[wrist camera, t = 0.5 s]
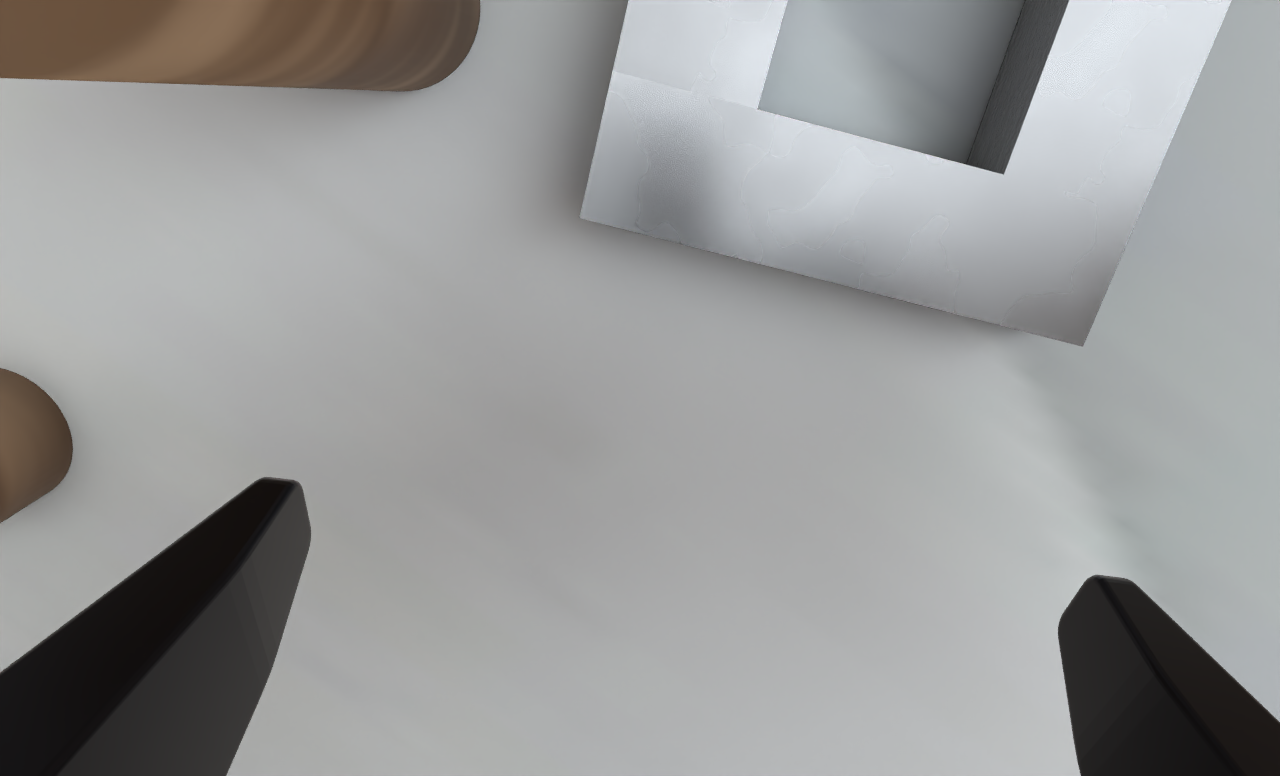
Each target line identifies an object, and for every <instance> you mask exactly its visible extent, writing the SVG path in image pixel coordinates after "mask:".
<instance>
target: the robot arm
mask: <svg viewBox="0 0 1280 776" xmlns="http://www.w3.org/2000/svg"><path fill="white" fill-rule="evenodd" d="M310 541H311V527H310V522H309V517H308V512H307V507H306V502H305V498H304V493H303V489H302V486H301V485H300V483H299V482H297V481H295V480H289V479H281V478H272V477H264V478H261V479H259V480H257V481H255V482H254V483H252V484H251V485H250V486H248V487H247V488H246V489H244V490H243V491H242V492H240V493H239V494H238V495H236V496H235V497H234V498H232V499H231V500H230V501H228V502H227V503H226V504H224V505H223V506H222V507H220V508H219V509H218V510H216V511H215V512H214V513H212V514H211V515H210V516H208V517H207V518H206V519H204V520H203V521H202V522H200V523H199V524H198V525H196V526H195V527H194V528H192V529H191V530H190V531H188V532H187V533H186V534H184V535H183V536H182V537H180V538H179V539H178V540H176V541H175V542H174V543H172V544H171V545H170V546H168V547H167V548H166V549H164V550H163V551H162V552H160V553H159V554H158V555H156V556H155V557H154V558H152V559H151V560H150V561H148V562H147V563H146V564H144V565H143V566H142V567H140V568H139V569H138V570H136V571H135V572H134V573H132V574H131V575H130V576H128V577H127V578H126V579H124V580H123V581H122V582H120V583H119V584H118V585H116V586H115V587H114V588H112V589H111V590H110V591H108V592H107V593H106V594H104V595H103V596H102V597H100V598H99V599H98V600H96V601H95V602H94V603H92V604H91V605H90V606H88V607H87V608H86V609H84V610H83V611H82V612H80V613H79V614H78V615H76V616H75V617H74V618H72V619H71V620H70V621H68V622H67V623H66V624H64V625H63V626H62V627H60V628H59V629H58V630H56V631H55V632H54V633H52V634H51V635H50V636H48V637H47V638H46V639H44V640H43V641H42V642H40V643H39V644H38V645H36V646H35V647H34V648H32V649H31V650H30V651H28V652H27V653H26V654H24V655H23V656H22V657H20V658H19V659H18V660H16V661H15V662H14V663H12V664H11V665H10V666H8V667H7V668H6V669H4V670H3V671H2V672H0V776H226V775H227V773H228V770H229V768H230V766H231V763H232V761H233V759H234V757H235V754H236V752H237V750H238V747H239V745H240V743H241V741H242V738H243V736H244V734H245V731H246V729H247V727H248V724H249V722H250V720H251V718H252V715H253V713H254V711H255V708H256V706H257V704H258V702H259V699H260V697H261V695H262V692H263V690H264V687H265V685H266V683H267V680H268V678H269V675H270V673H271V670H272V667H273V664H274V661H275V658H276V655H277V652H278V649H279V645H280V642H281V639H282V635H283V632H284V629H285V626H286V622H287V619H288V616H289V613H290V609H291V606H292V603H293V599H294V596H295V593H296V590H297V586H298V583H299V580H300V577H301V573H302V570H303V567H304V563H305V560H306V557H307V554H308V550H309V546H310ZM1058 639H1059V645H1060V652H1061V659H1062V665H1063V672H1064V679H1065V685H1066V692H1067V698H1068V705H1069V712H1070V718H1071V725H1072V732H1073V738H1074V744H1075V750H1076V755H1077V761H1078V765H1079V770H1080V774H1081V776H1280V722H1279V721H1278V720H1277V719H1276V718H1275V717H1274V716H1273V715H1272V714H1271V713H1270V712H1269V711H1268V710H1266V709H1265V708H1264V707H1263V706H1262V705H1261V704H1260V703H1259V702H1258V701H1257V700H1256V699H1255V698H1254V697H1253V696H1252V695H1251V694H1250V693H1249V692H1248V691H1247V690H1246V689H1245V688H1244V687H1243V686H1241V685H1240V684H1239V683H1238V682H1237V681H1236V680H1235V679H1234V678H1233V677H1232V676H1231V675H1230V674H1229V673H1228V672H1227V671H1226V670H1225V669H1224V668H1223V667H1222V666H1221V665H1220V664H1219V663H1218V662H1216V661H1215V660H1214V659H1213V658H1212V657H1211V656H1210V655H1209V654H1208V653H1207V652H1206V651H1205V650H1204V649H1203V648H1202V647H1201V646H1200V645H1199V644H1198V643H1197V642H1196V641H1195V640H1194V639H1193V638H1191V637H1190V636H1189V635H1188V634H1187V633H1186V632H1185V631H1184V630H1183V629H1182V628H1181V627H1180V626H1179V625H1178V624H1177V623H1176V622H1175V621H1174V620H1173V619H1172V618H1171V617H1170V616H1169V615H1168V614H1166V613H1165V612H1164V611H1163V610H1162V609H1161V608H1160V607H1159V606H1158V605H1157V604H1156V603H1155V602H1154V601H1153V600H1152V599H1151V598H1150V597H1149V596H1148V595H1147V594H1146V593H1145V592H1144V591H1143V590H1141V589H1140V588H1139V587H1138V586H1137V585H1136V584H1135V583H1133V582H1132V581H1130V580H1128V579H1125V578H1119V577H1111V576H1103V575H1093V576H1091V577H1090V578H1088V579H1087V580H1086V581H1085V582H1084V584H1083V585H1082V586H1081V588H1080V589H1079V591H1078V592H1077V594H1076V595H1075V597H1074V598H1073V600H1072V601H1071V602H1070V604H1069V605H1068V607H1067V608H1066V610H1065V611H1064V613H1063V614H1062V616H1061V619H1060V622H1059V627H1058Z"/></svg>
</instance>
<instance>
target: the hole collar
mask: <svg viewBox="0 0 1280 776" xmlns="http://www.w3.org/2000/svg"><path fill="white" fill-rule="evenodd" d="M1231 1H1232V0H1025V3H1024V5H1023V8H1022V11H1021V14H1020V17H1019V19H1018V22H1017V25H1016V28H1015V30H1014V33H1013V36H1012V39H1011V42H1010V44H1009V47H1008V50H1007V53H1006V55H1005V58H1004V61H1003V64H1002V67H1001V69H1000V72H999V75H998V78H997V80H996V83H995V86H994V89H993V92H992V94H991V97H990V100H989V103H988V105H987V108H986V111H985V114H984V117H983V119H982V122H981V125H980V128H979V130H978V133H977V136H976V139H975V142H974V144H973V147H972V150H971V153H970V155H969V158H968V161H967V164H962V163H958V162H954V161H951V160H947V159H943V158H939V157H936V156H932V155H928V154H924V153H920V152H917V151H913V150H909V149H905V148H902V147H898V146H894V145H890V144H887V143H883V142H879V141H875V140H872V139H868V138H864V137H860V136H856V135H853V134H849V133H845V132H841V131H838V130H834V129H830V128H826V127H823V126H819V125H815V124H811V123H808V122H804V121H800V120H796V119H792V118H789V117H785V116H781V115H777V114H774V113H770V112H766V111H762V110H759V109H758V105H759V102H760V98H761V94H762V91H763V87H764V84H765V80H766V77H767V73H768V69H769V66H770V62H771V59H772V55H773V52H774V48H775V44H776V41H777V37H778V34H779V30H780V27H781V23H782V19H783V16H784V12H785V9H786V5H787V2H788V0H629V1H628V5H627V9H626V14H625V18H624V23H623V27H622V32H621V36H620V40H619V45H618V49H617V54H616V58H615V63H614V67H613V71H612V76H611V80H610V85H609V89H608V94H607V98H606V102H605V107H604V111H603V116H602V120H601V125H600V129H599V133H598V138H597V142H596V147H595V151H594V155H593V160H592V164H591V169H590V173H589V178H588V182H587V186H586V191H585V195H584V200H583V204H582V209H581V213H580V217H579V218H581V219H585V220H589V221H593V222H597V223H600V224H604V225H608V226H612V227H616V228H620V229H624V230H628V231H632V232H636V233H640V234H644V235H647V236H651V237H655V238H659V239H663V240H667V241H671V242H675V243H679V244H683V245H687V246H691V247H695V248H698V249H702V250H706V251H710V252H714V253H718V254H722V255H726V256H730V257H734V258H738V259H742V260H746V261H749V262H753V263H757V264H761V265H765V266H769V267H773V268H777V269H781V270H785V271H789V272H793V273H796V274H800V275H804V276H808V277H812V278H816V279H820V280H824V281H828V282H832V283H836V284H840V285H844V286H847V287H851V288H855V289H859V290H863V291H867V292H871V293H875V294H879V295H883V296H887V297H891V298H895V299H898V300H902V301H906V302H910V303H914V304H918V305H922V306H926V307H930V308H934V309H938V310H942V311H945V312H949V313H953V314H957V315H961V316H965V317H969V318H973V319H977V320H981V321H985V322H989V323H993V324H996V325H1000V326H1004V327H1008V328H1012V329H1016V330H1020V331H1024V332H1028V333H1032V334H1036V335H1040V336H1044V337H1047V338H1051V339H1055V340H1059V341H1063V342H1067V343H1071V344H1075V345H1079V346H1083V345H1084V343H1085V340H1086V338H1087V336H1088V333H1089V331H1090V329H1091V326H1092V324H1093V322H1094V319H1095V317H1096V315H1097V312H1098V310H1099V308H1100V305H1101V303H1102V301H1103V298H1104V296H1105V294H1106V291H1107V289H1108V287H1109V284H1110V282H1111V280H1112V277H1113V275H1114V273H1115V271H1116V268H1117V266H1118V264H1119V261H1120V259H1121V257H1122V254H1123V252H1124V250H1125V247H1126V245H1127V243H1128V240H1129V238H1130V236H1131V233H1132V231H1133V229H1134V226H1135V224H1136V222H1137V219H1138V217H1139V215H1140V212H1141V210H1142V208H1143V205H1144V203H1145V201H1146V198H1147V196H1148V194H1149V191H1150V189H1151V187H1152V184H1153V182H1154V180H1155V177H1156V175H1157V173H1158V170H1159V168H1160V166H1161V164H1162V161H1163V159H1164V157H1165V154H1166V152H1167V150H1168V147H1169V145H1170V143H1171V140H1172V138H1173V136H1174V133H1175V131H1176V129H1177V126H1178V124H1179V122H1180V119H1181V117H1182V115H1183V112H1184V110H1185V108H1186V105H1187V103H1188V101H1189V98H1190V96H1191V94H1192V91H1193V89H1194V87H1195V84H1196V82H1197V80H1198V77H1199V75H1200V73H1201V70H1202V68H1203V66H1204V63H1205V61H1206V59H1207V57H1208V54H1209V52H1210V50H1211V47H1212V45H1213V43H1214V40H1215V38H1216V36H1217V33H1218V31H1219V29H1220V26H1221V24H1222V22H1223V19H1224V17H1225V15H1226V12H1227V10H1228V8H1229V5H1230V3H1231Z"/></svg>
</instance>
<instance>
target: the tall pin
mask: <svg viewBox="0 0 1280 776" xmlns="http://www.w3.org/2000/svg"><path fill="white" fill-rule="evenodd" d="M479 19H480V0H0V78H18V79H48V80H78V81H108V82H139V83H169V84H199V85H229V86H259V87H290V88H320V89H350V90H380V91H412V90H419V89H423V88H426V87H429V86H431V85H434V84H436V83H438V82H440V81H441V80H443V79H444V78H446V77H447V76H449V75H450V74H451V73H452V72H453V71H454V70H456V68H457V67H458V66H459V65H460V64H461V63H462V62H463V60H464V59H465V57H466V56H467V54H468V53H469V51H470V49H471V46H472V44H473V42H474V39H475V36H476V33H477V30H478V25H479Z"/></svg>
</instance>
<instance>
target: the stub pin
mask: <svg viewBox="0 0 1280 776" xmlns="http://www.w3.org/2000/svg"><path fill="white" fill-rule="evenodd" d="M72 452H73V446H72V437H71V433H70V429H69V427H68V424H67V421H66V419H65V417H64V415H63V414H62V412H61V410H60V409H59V407H58V406H57V405H56V403H55V402H54V401H53V400H52V398H51V397H50V396H49V395H48V394H47V393H46V392H45V391H44V390H42V389H41V388H40V387H39V386H37V385H36V384H35V383H33V382H31V381H30V380H28V379H27V378H25V377H23V376H21V375H19V374H17V373H14V372H11V371H9V370H5V369H1V368H0V523H1V522H3V521H4V520H6V519H8V518H9V517H11V516H12V515H14V514H15V513H17V512H18V511H20V510H22V509H23V508H25V507H26V506H28V505H29V504H31V503H32V502H34V501H36V500H37V499H39V498H40V497H42V496H43V495H45V494H46V493H48V492H49V491H51V490H53V489H54V488H55V487H56V486H57V485H58V484H59V483H60V482H61V481H62V480H63V479H64V477H65V475H66V474H67V472H68V470H69V467H70V464H71V460H72Z"/></svg>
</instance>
